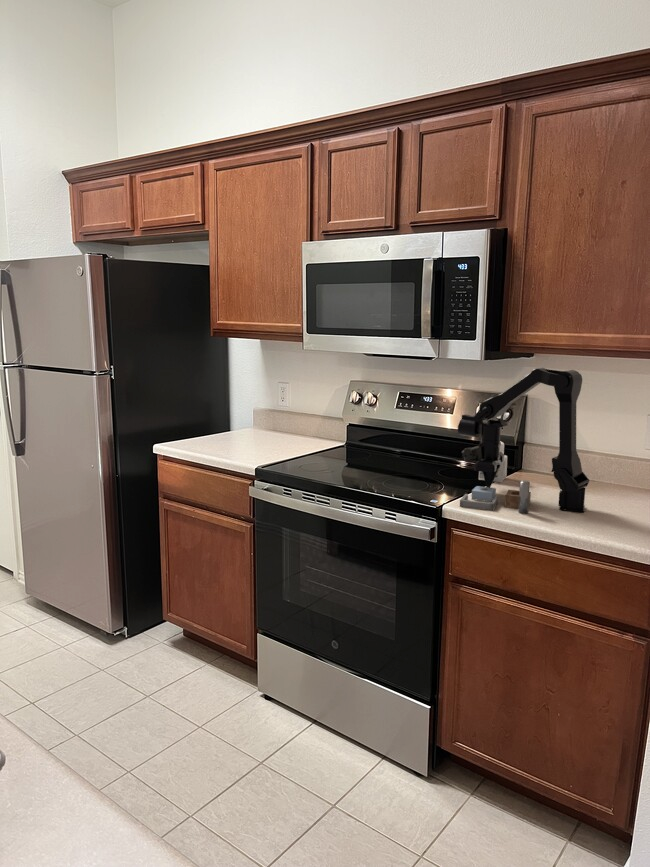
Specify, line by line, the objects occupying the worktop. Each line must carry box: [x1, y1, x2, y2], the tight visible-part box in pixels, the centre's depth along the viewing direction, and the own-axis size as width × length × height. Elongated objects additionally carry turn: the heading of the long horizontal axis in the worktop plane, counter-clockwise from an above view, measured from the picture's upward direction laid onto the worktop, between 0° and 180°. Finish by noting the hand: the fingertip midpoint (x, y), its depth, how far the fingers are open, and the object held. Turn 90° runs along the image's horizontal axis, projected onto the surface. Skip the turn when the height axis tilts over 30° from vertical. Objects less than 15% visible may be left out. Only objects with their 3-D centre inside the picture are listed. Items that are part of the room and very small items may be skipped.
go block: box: [504, 489, 531, 509], centre depth 194 cm, size 6×6×4 cm
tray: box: [459, 493, 499, 511], centre depth 194 cm, size 10×8×2 cm
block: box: [471, 485, 497, 502], centre depth 201 cm, size 6×6×3 cm
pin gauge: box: [518, 480, 531, 515], centre depth 186 cm, size 3×3×9 cm
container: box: [478, 440, 508, 483], centre depth 223 cm, size 8×8×13 cm
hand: (488, 487), depth 208 cm, fingers closed
